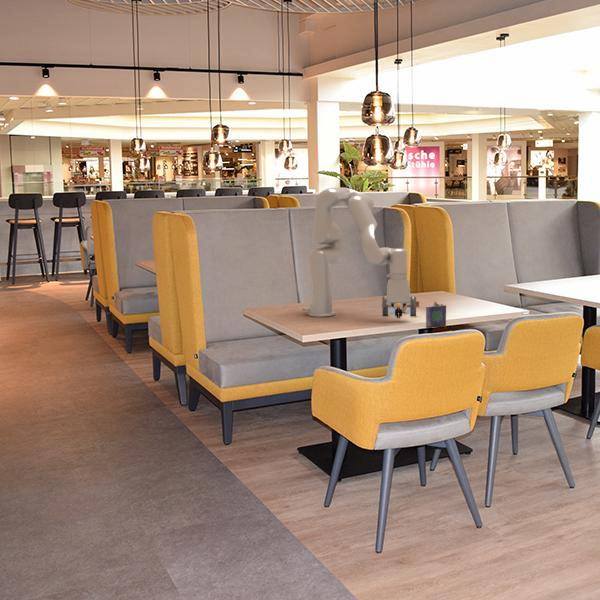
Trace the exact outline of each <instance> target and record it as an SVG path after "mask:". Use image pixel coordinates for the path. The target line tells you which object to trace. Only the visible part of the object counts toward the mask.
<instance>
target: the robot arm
mask: <svg viewBox="0 0 600 600" xmlns="http://www.w3.org/2000/svg"><path fill="white" fill-rule="evenodd" d="M374 206H375V203H374V200H373V199H372V197H371V196H370V195H368V194H366V193H362V192H360V191H357V190H354V189H353V188H352V189H351V188H348V187H329V188H326V189H323V190H321V191H320V192H319V194H317V196H316V200H315V206H314V207H315V208H314V209H315V210H314V211H315V212H314V221H313V222H314V223H313V235H312V237H313V240H314V242H315V243H316V244H317V245H322V246H319V247H316V248H314V249H312V250H311V252H310V253H309V255H308V264H309V268H310V278H311V279H310V282H311V283H310V284H311V288H310V289H311V305H309V306H307V305H306V306H305V305H302V311H308V316H311V317H318V318H319V317H320V318H321V317H333V316H335V315H336V311H334V310H333V293H332V291H333V288H332V287H333V285H332V283H333V282H332V273H331V272H332V271H331V268H330V267H333V266H335V265H337V264H338V263H339V261H340V260H341V254H342V253H341V252H342V243H343V232H342V228H341V227H340V225H338V224H336V223H335V222H334V211H333V208H334V207H346V208H347V209H348V211H349V213H350V215H351V217H352V219H353V221H354V223H355V225H356V227H357V229H358V231H359V239H360V245H361V249H362V251H363V253H364V255H365V257H366V259H367V260H368V262H369V263H370V264H371V265H372V266H376V267H377V266H378V267H379V266H384V265H389V273H387V274H386V278H389V279H388V280H387V286H386V296H387V303H386V304H387V305H391V306H392V307H391V308H394V309H395V314H394V317H396V319H401V317H402V316H403V314H402V309H403V308H404V307H405V306H406V305H410V304H411V302H410V297H411V285H410V280H409V279H408V251H407V249H405V248H400V247H399V248H391V247H386V246H385V247H379V245H378V243H377V240H376V237H375V231H376V230H377V229H376V228H377V227H378V223H377V221H376V218H375V216H374V215H373V212H372V211H373V209H374ZM397 303H400V307H399V314H398V307H397Z"/></svg>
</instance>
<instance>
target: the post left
mask: <svg viewBox="0 0 600 600" xmlns="http://www.w3.org/2000/svg"><path fill="white" fill-rule="evenodd" d="M381 297H382V301H381V307H382V310H381V311H382V315H381V316H382V317H383V316H387V317H389V314H388V308H389V307H388V305H387V304H386V303H387V295H385V296H381Z"/></svg>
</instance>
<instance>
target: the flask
mask: <svg viewBox="0 0 600 600" xmlns="http://www.w3.org/2000/svg"><path fill="white" fill-rule="evenodd" d="M446 324H447V305H446V304H442V303H438V302H437V301H436V300H435V301H433V305H428V306H427V305H426V307H425V327H426V328H438V327H440V328H442V327H446Z"/></svg>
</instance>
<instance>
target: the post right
mask: <svg viewBox="0 0 600 600" xmlns="http://www.w3.org/2000/svg"><path fill="white" fill-rule="evenodd" d="M416 301H417V296H410V302H411V304H410V307H409V309H410V314H409V315H410V316H409V317H411V316H416V317H417V307H416Z"/></svg>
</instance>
